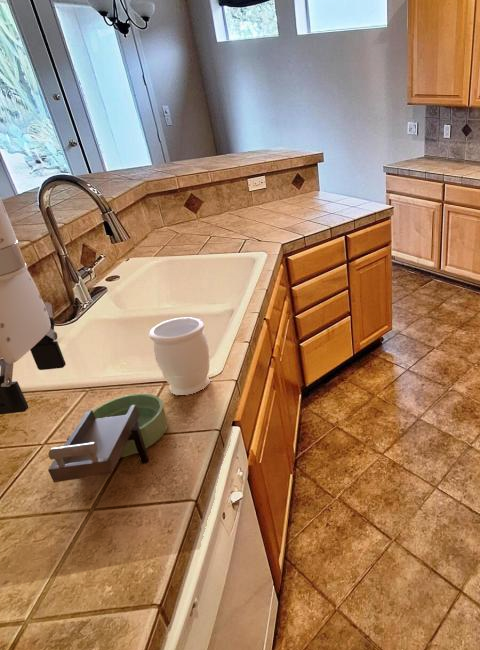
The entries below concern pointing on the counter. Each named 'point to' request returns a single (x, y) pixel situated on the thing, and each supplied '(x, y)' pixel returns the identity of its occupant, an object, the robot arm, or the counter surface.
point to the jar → (182, 354)
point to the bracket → (138, 444)
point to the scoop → (92, 446)
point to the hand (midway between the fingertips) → (34, 388)
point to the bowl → (149, 418)
